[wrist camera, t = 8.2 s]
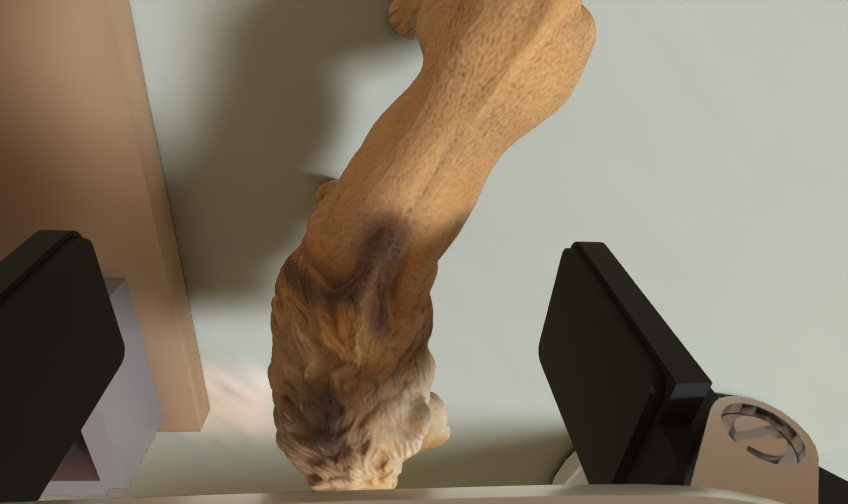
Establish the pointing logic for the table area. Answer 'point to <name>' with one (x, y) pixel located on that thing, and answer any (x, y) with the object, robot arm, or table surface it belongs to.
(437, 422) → the lion figurine
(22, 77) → the brown flat square board
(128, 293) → the dome housing
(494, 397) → the table surface
